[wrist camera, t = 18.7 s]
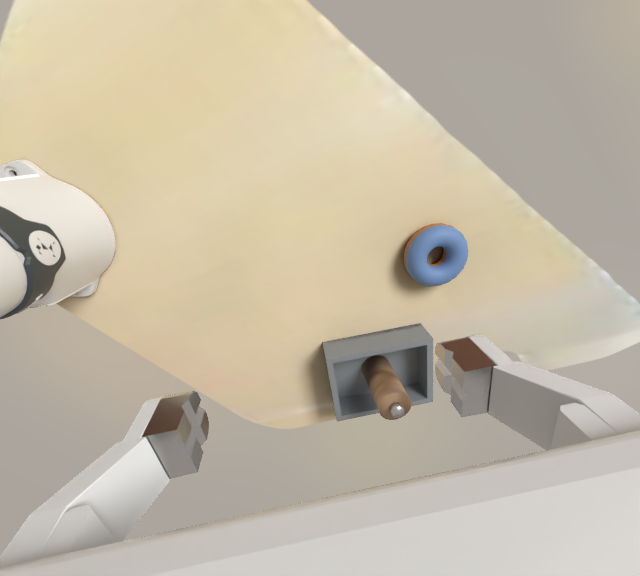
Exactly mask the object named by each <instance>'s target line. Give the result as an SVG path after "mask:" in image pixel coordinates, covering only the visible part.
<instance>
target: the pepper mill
mask: <svg viewBox="0 0 640 576" xmlns="http://www.w3.org/2000/svg"><path fill="white" fill-rule="evenodd" d="M362 372H363V374H364V377H365V379H366V382H367V384H368V386H369V389H370V391H371V393H372V396H373V398H374V401H375V403H376V405H377V408H378V410H379V412H380V414H381V416H382V417H384V418H385V419H389V420H394V419H398V418H401V417H402V416H404V415H405V414H406V413H408V411H409V410H410V408H411V400H410V398H409V396H408V395H407V393H406V391H405V389H404V388H403V386H402V384H401V382H400V381H399V379H398V377H397V375H396V374H395V372H394V370H393V368H392V367H391V365H390V363H389V361H388V360H387V358H385V357H384V356H381V355H375V356H371V357H369V358H368V359H367V360H366V361H365V362H364V363H363V365H362Z"/></svg>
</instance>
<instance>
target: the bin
mask: <svg viewBox="0 0 640 576" xmlns="http://www.w3.org/2000/svg"><path fill="white" fill-rule="evenodd" d="M322 343H323V349H324V354H325V360H326V365H327V371H328V377H329V382H330V388H331V393H332V399H333V404H334V409H335V414H336V419H337V421H341V420H346V419H351V418H356V417H361V416H366V415H370V414H375V413H380V412H379V410H378V408H377V405H376V403H375V401H374V398H373V396H372V393H371V391H370V389H369V386H368V384H367V382H366V379H365V377H364V374H363V372H362V365H363V363H364V362H365V361H366V360H367V359H368V358H369V357H371V356H375V355H381V356H384V357H385V358H387V360H388V361H389V363H390V365H391V367H392V368H393V370H394V372H395V374H396V375H397V377H398V379H399V381H400V382H401V384H402V386H403V388H404V389H405V391H406V393H407V395H408V396H409V398H410V400H411V406H414V405H419V404H424V403H428V402H433V338H432V337H431V336H430V334H429V333H428V332H427V331H426V329H425V328H424V327H423V326H422V325H421V323H420V324H415V325H410V326H404V327H399V328H394V329H389V330H384V331H379V332H374V333H368V334H363V335H358V336H353V337H348V338H343V339H338V340H332V341H327V342H322Z"/></svg>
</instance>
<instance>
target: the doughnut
mask: <svg viewBox="0 0 640 576" xmlns="http://www.w3.org/2000/svg"><path fill="white" fill-rule="evenodd" d="M436 247H442V248H443V255H442V258H441V259H440V260H439V261H438V262H437V263H435V264H428V262H427V257H428V254H429V253H430V251H431V250H432V249H434V248H436ZM467 256H468V247H467V241H466V239H465V238H464V236H463V234H462V233H461V232H459V231H458V230H457V229H455V228H454V227H452V226H450V225H446V224H442V223H440V224H431V225H428V226H426V227H423V228H421V229H420V230H419V231H417V232H416V233H415V234H414V235H413V236H412V237H411V239H410V240H409V241H408V243H407V246H406V248H405V251H404V265H405V268H406V271H407V272H408V273H409V275H410V276H411V277H412V279H414V280H415V281H417V282H418V283H420V284H422V285H427V286H438V285H442V284H445V283H447V282H450V281H451V280H452V279H454V278H455V277H456V276H457V275H458V274H459V273H460V272H461V271H462V269H463V268H464V265H465V263H466V261H467Z"/></svg>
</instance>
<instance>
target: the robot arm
mask: <svg viewBox="0 0 640 576" xmlns="http://www.w3.org/2000/svg"><path fill="white" fill-rule="evenodd" d="M14 171H16V173H17V176H16V175H15V174H14ZM114 253H115V235H114V231H113V228H112V226H111V223H110V221H109V220H108V218H107V216H106V215H105V213H104V212H103V210H102V209H101V208H100V207H99V205H98V204H97V203H96V202H95V201H94V200H93V199H91V198H90V197H89V196H88V195H86V194H85V193H84V192H82V191H81V190H79V189H77V188H76V187H74V186H72V185H70V184H67V183H65V182H62V181H60V180H57V179H55V178H52V177H51V176H49V175H47V174H46V173H45V172H44V171H42V170H41V169H40V168H39V167H37V166H36V165H35V164H33V163H32V162H30V161H28V160H25V159H19V160H14V161H11V162H9V163H6V164H4V165H2V166H0V319H4V318H6V317H9V316H12V315H14V314H16V313H19V312H22V311H23V310H25V309H27V308H34V307H38V306H41V305H46V306H51V305H54V304H56V303H58V302H60V301H62V300H64V299H65V298H67V297H85V296H89V295H91V294H93V293H95V291H96V290H97V287H98V282H99V278H100V276H101V274H102V273H103V272H104V271H105V270H106V269H107V268H108V266H109V265H110V263H111V262H112V260H113V257H114ZM435 353H436V355H437V356H438V357H439V359H438V361H437V362H436V364H435V371H436V376H437V380H438V382H439V384H440V386H441V388H442V389H443V391H444V392H446V393H448V394H450V395H451V402H452V404H453V405H454V407H455V408H456V410H457V411H458V412H459V414H460V415H461V417H465V416H471V415H477V414H482V413H488V414H489V415H491V416H493V417H494V418H496V419H498V420H499V421H501V422H502V423H504V424H506V425H507V426H509V427H510V428H512V429H513V430H515V431H517V432H518V433H520V434H522V435H523V436H525V437H526V438H528V439H530V440H531V441H533V442H534V443H536V444H538V445H539V446H541V447H542V448H544V449H546V450H545V451H540V452H536V453H531V454H527V455H522V456H517V457H513V458H508V459H503V460H498V461H494V462H489V463H484V464H480V465H475V466H470V467H466V468H461V469H457V470H452V471H447V472H442V473H438V474H433V475H429V476H424V477H419V478H415V479H410V480H406V481H401V482H396V483H391V484H387V485H382V486H377V487H373V488H368V489H363V490H359V491H354V492H350V493H345V494H340V495H336V496H331V497H326V498H321V499H317V500H312V501H307V502H303V503H298V504H294V505H289V506H284V507H280V508H275V509H271V510H265V511H261V512H257V513H252V514H247V515H242V516H238V517H233V518H228V519H224V520H219V521H214V522H210V523H205V524H200V525H196V526H191V527H186V528H182V529H177V530H173V531H168V532H163V533H158V534H154V535H149V536H144V537H140V538H135V539H131V540H127V541H123V540H124V539H125V538H126V536H127V535H128V534H129V532H130V531H131V530H132V529H133V527H134V526H135V525H136V523H137V522H138V521H139V519H140V518H141V517H142V516H143V514H144V513H145V512H146V510H147V509H148V508H149V507H150V505H151V504H152V503H153V501H154V500H155V499H156V498H157V496H158V495H159V493H160V492H161V491H162V490H163V489H164V487H165V486H166V485H167V483H168V482H169V481H170V479H171V478H175V477H179V476H183V475H187V474H192V473H196V472H198V469H199V465H200V462H201V458H202V454H203V451H202V449H201V445H202V444H203V443H204V442H205V441H206V440H207V435H208V428H209V422H208V417H207V414H206V412H205V410H204V409H203V408H201V407H199V404H200V400H201V399H200V397H199V395H198V393H197V392H195V391H192V392H186V393H180V394H174V395H169V396H164V397H158V398H153V399H149V400H147V401H146V402H145V403H144V404H143V406H142V408H141V410H140V411H139V413H138V415H137V417H136V419H135V420H134V422H133V424H132V426H131V428H130V429H129V431H128V433H127V435H126V436H125V438H124V440H123V442H118V443H116V444H115V445H114V446H113V447H112V448H110V449H109V450H108V451H107V452H105V453H104V454H103V455H102V456H101V457H99V458H98V459H97V460H96V461H95V462H93V463H92V464H91V465H90V466H89V467H87V468H86V469H85V470H84V471H83V472H81V473H80V474H79V475H78V476H76V477H75V478H74V479H73V480H72V481H70V482H69V483H68V484H67V485H65V486H64V487H63V488H62V489H61V490H59V491H58V492H57V493H56V494H55V495H53V496H52V497H51V498H50V499H48V500H47V501H46V502H45V503H44V504H42V505H41V506H40V507H39V508H38V509H36V510H35V511H34V512H33V513H32V514H30V516H29V517H28V518H27V520H26V521H25V522H24V524H23V525H22V527H21V528H20V530H19V531H18V533H17V534H16V535H15V537H14V538H13V539H12V541H11V542H10V544H9V545H8V547H7V548H6V549H5V551H4V552H3V554H2V555H1V556H0V576H640V414H639V413H638V412H636V411H635V410H633V409H632V408H631V407H630V406H628V405H627V404H625V403H624V402H623V401H621V400H620V399H619V398H617V397H616V396H614V395H613V394H611V393H608V392H605V391H603V390H600V389H597V388H594V387H591V386H588V385H585V384H582V383H579V382H576V381H574V380H571V379H568V378H565V377H562V376H559V375H556V374H553V373H550V372H548V371H545V370H542V369H539V368H536V367H533V366H530V365H528V364H525V363H522V362H513V361H512V360H511V359H510V358H508V356H506V355H505V354H504V353H503V352H502V351H501V350H500V349H499V348H498V347H496V346H495V345H494V344H493V343H492V342H491V341H490V340H489V339H487V338H486V337H485V336H484V335H482V334H477V335H472V336H468V337H465V338H460V339H455V340H450V341H445V342H441V343H437V344H436V347H435Z"/></svg>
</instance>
